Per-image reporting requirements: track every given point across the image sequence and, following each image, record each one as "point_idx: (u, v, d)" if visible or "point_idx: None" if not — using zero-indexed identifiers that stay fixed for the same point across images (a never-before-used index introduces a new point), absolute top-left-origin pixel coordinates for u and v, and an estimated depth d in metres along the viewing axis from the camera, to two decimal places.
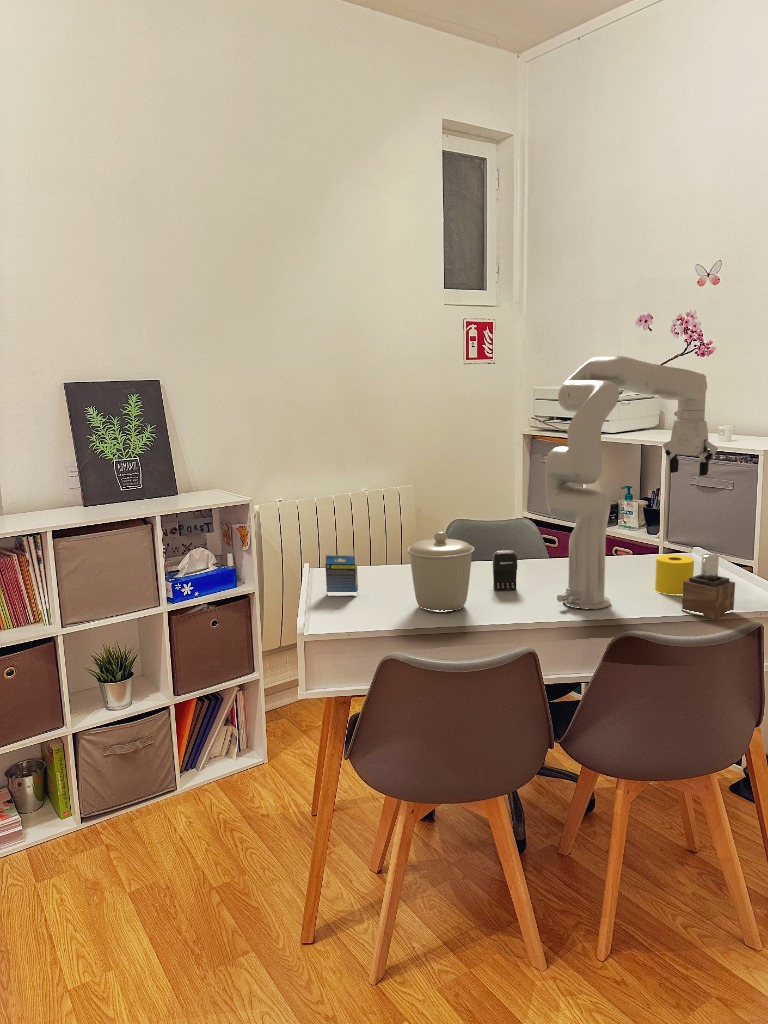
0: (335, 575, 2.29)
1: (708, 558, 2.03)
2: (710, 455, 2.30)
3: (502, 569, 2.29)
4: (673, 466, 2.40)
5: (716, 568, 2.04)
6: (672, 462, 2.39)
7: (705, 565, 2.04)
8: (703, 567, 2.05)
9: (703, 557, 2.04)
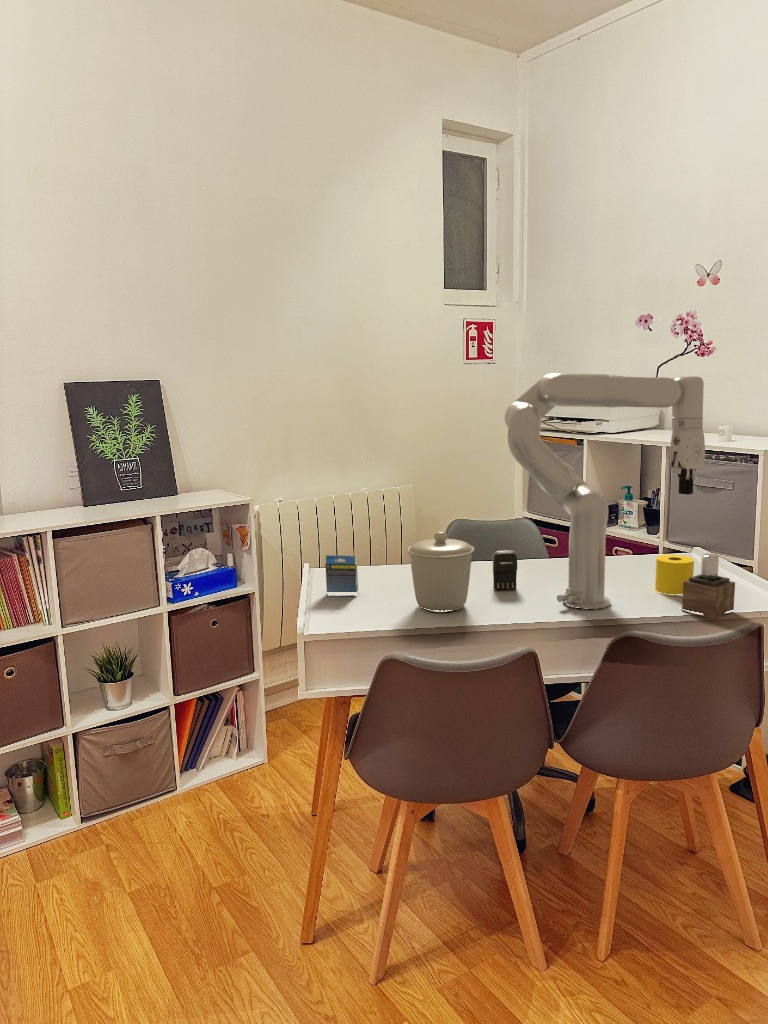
0: (335, 575, 2.29)
1: (708, 558, 2.03)
2: (695, 470, 2.12)
3: (502, 569, 2.29)
4: None
5: (716, 568, 2.04)
6: None
7: (705, 565, 2.04)
8: (703, 567, 2.05)
9: (703, 557, 2.04)
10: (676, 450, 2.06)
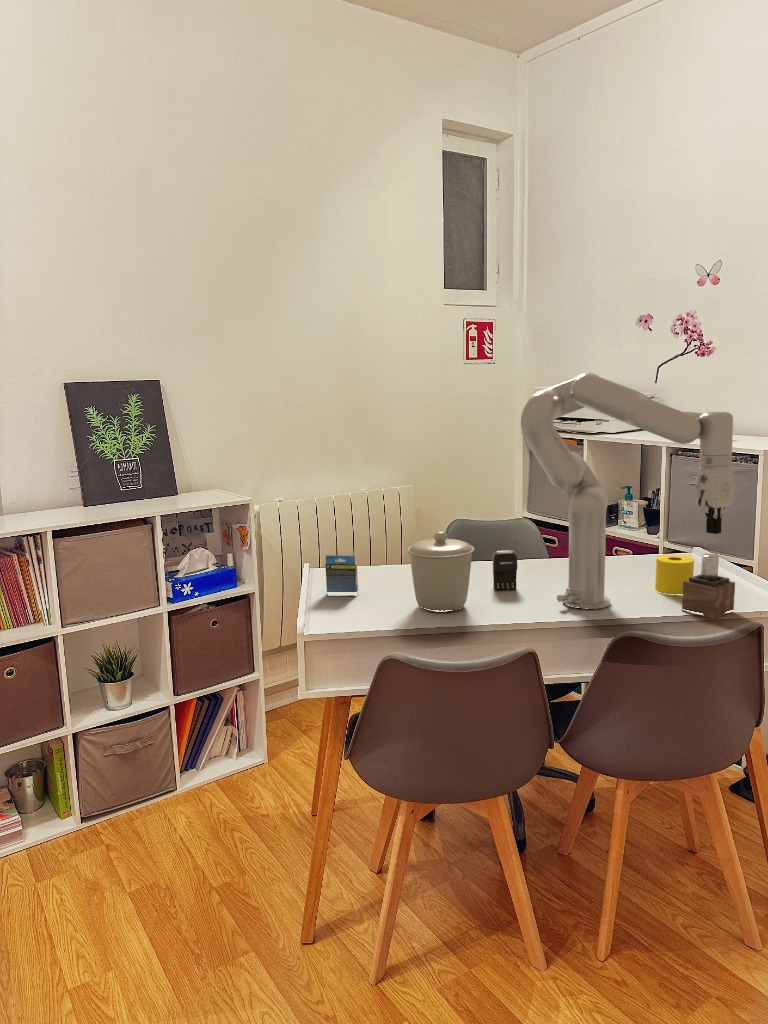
0: (335, 575, 2.29)
1: (708, 558, 2.03)
2: (723, 508, 2.03)
3: (502, 569, 2.29)
4: None
5: (716, 568, 2.04)
6: None
7: (705, 565, 2.04)
8: (703, 567, 2.05)
9: (703, 557, 2.04)
10: (703, 488, 1.99)
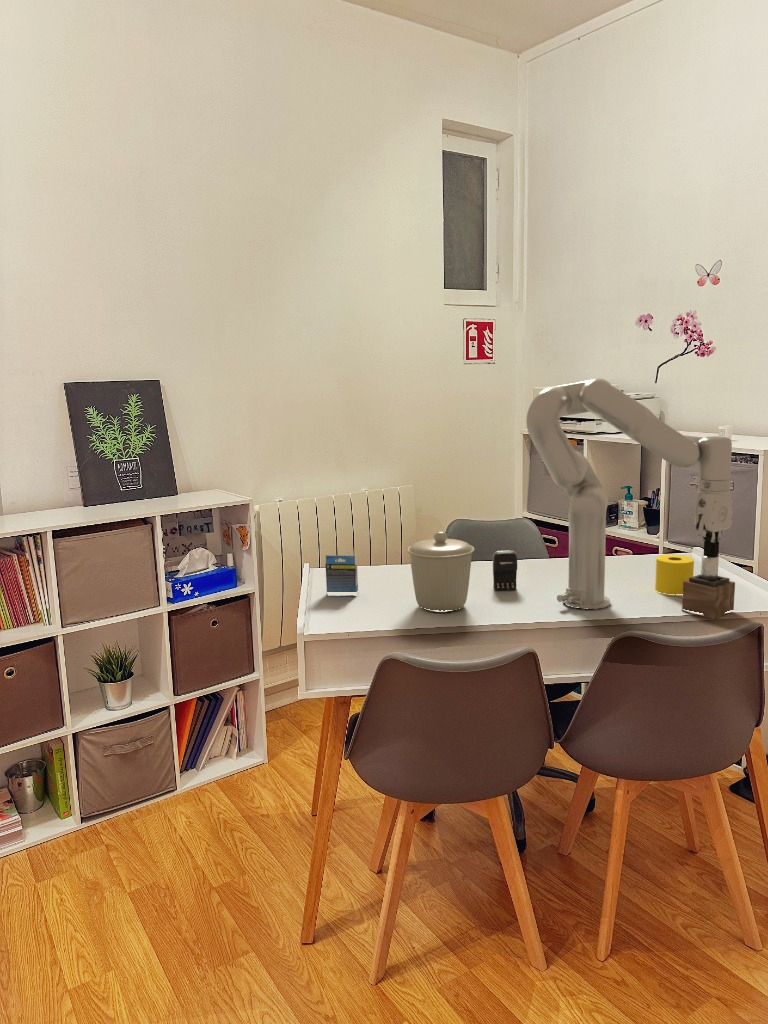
0: (335, 575, 2.29)
1: (708, 559, 2.03)
2: (721, 532, 2.05)
3: (502, 569, 2.29)
4: None
5: (716, 569, 2.04)
6: None
7: (705, 566, 2.04)
8: (703, 568, 2.05)
9: (703, 558, 2.04)
10: (701, 512, 2.00)
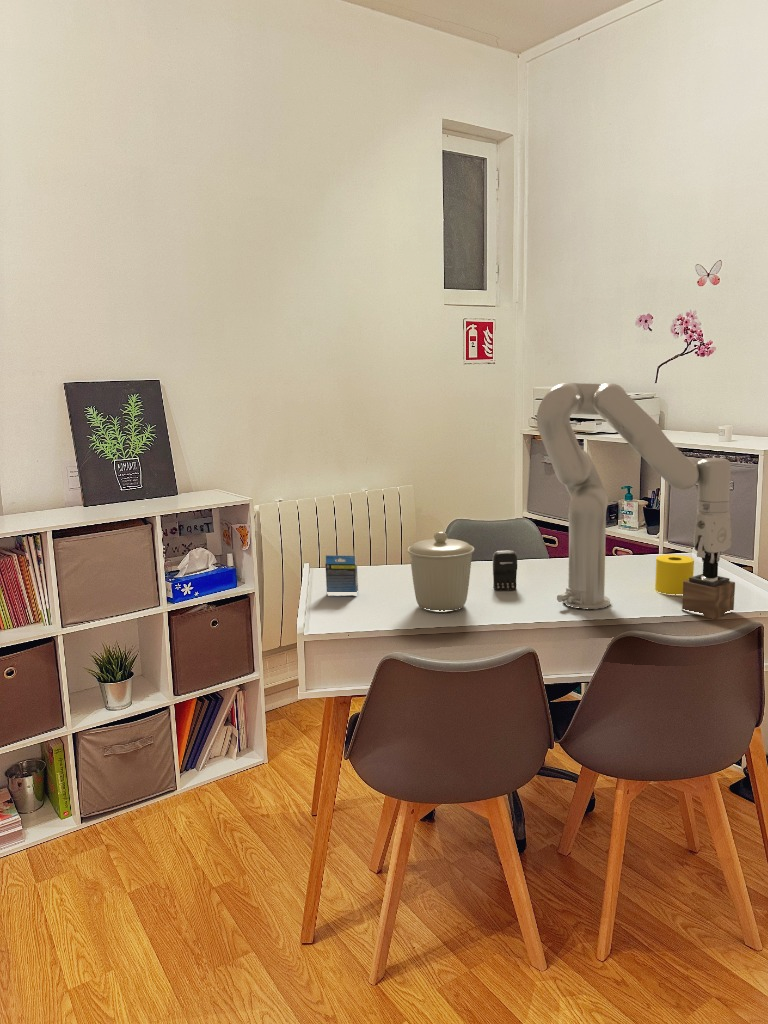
0: (335, 575, 2.29)
1: (707, 580, 2.04)
2: (720, 552, 2.06)
3: (502, 569, 2.29)
4: None
5: None
6: None
7: None
8: None
9: (702, 578, 2.05)
10: (700, 534, 2.01)
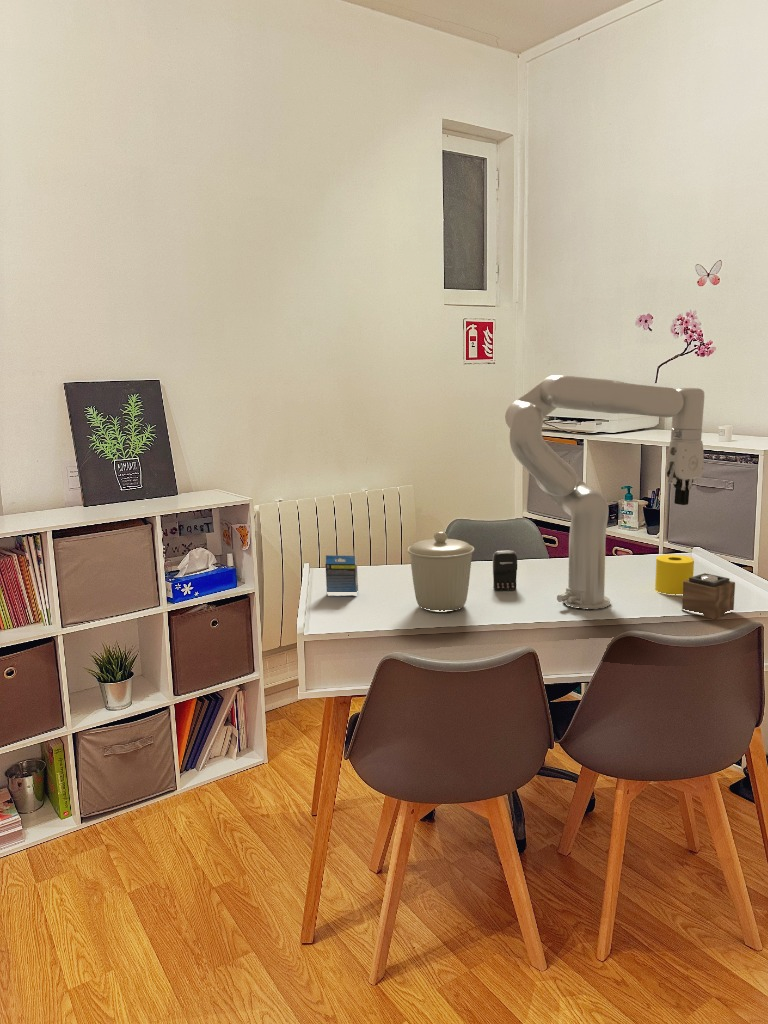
0: (335, 575, 2.29)
1: (707, 580, 2.04)
2: (692, 481, 2.13)
3: (502, 569, 2.29)
4: None
5: None
6: None
7: None
8: None
9: (702, 579, 2.05)
10: (672, 460, 2.08)
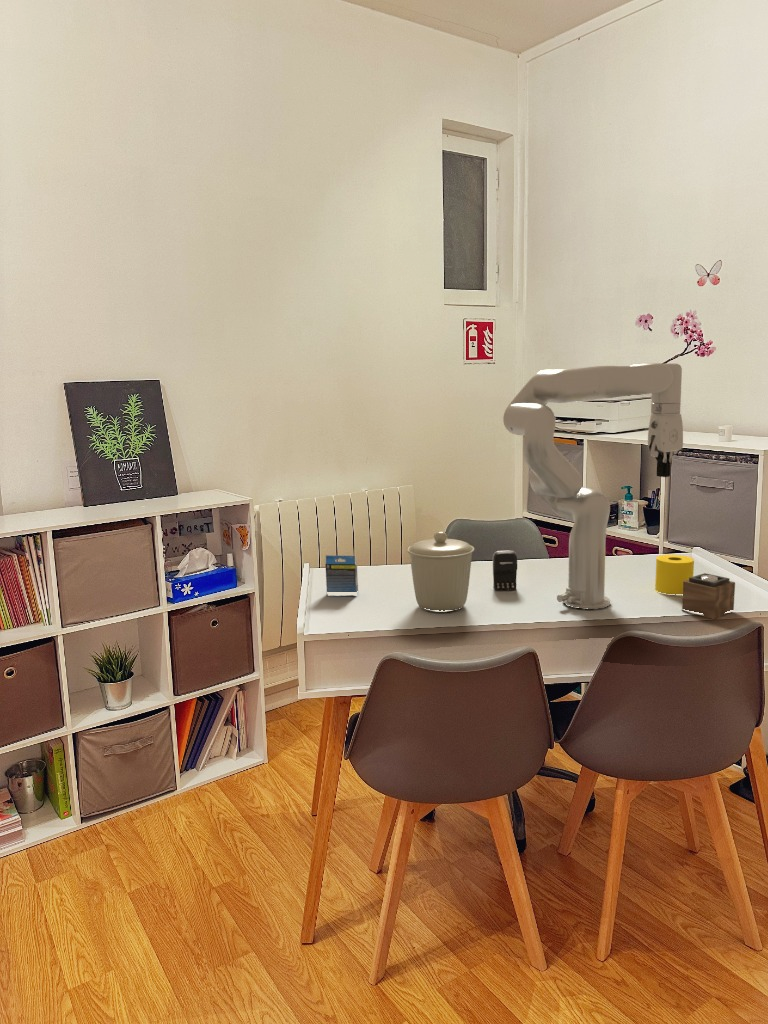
0: (335, 575, 2.29)
1: (707, 580, 2.04)
2: (673, 453, 2.20)
3: (502, 569, 2.29)
4: None
5: None
6: None
7: None
8: None
9: (702, 579, 2.05)
10: (653, 434, 2.15)
